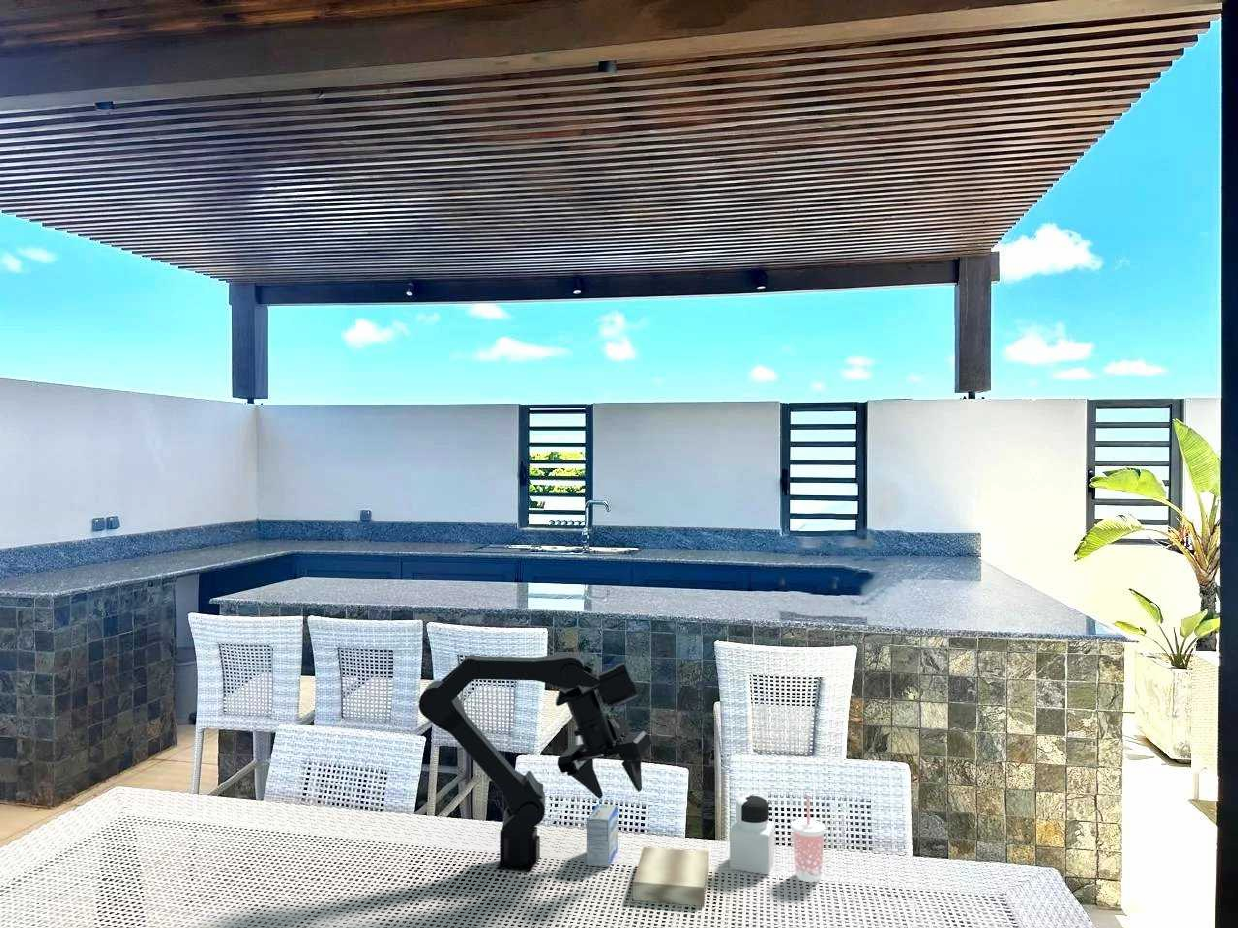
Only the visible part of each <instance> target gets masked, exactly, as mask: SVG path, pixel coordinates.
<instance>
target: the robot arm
mask: <svg viewBox="0 0 1238 928" xmlns="http://www.w3.org/2000/svg"><path fill="white" fill-rule="evenodd" d="M474 680H493V681H494V680H495V681H497V680H498V681H499V680H500V681H501V680H503V681H535V682H536V681H537V682H540V683H544V684H547V685H549V686H554V687H559V690H558V695H557V696H556V698H555V705H556V707H559V706H560V707H561V706H562V705H564V704H567V707H568V710H569V712H570V714H571V717H572V719H573V722H574V724H575V727H576V729H575V730H573V733H574V736H575V737H580V739H581V742H582V744H581V743H579V744H576V745H573V746H569V747H568V748H567V749H566V750H565V751H564V752H562V753H561V754H560V755H559V757H558V758H557V767H558V769H559V771H560V773H561V774H565V773H566V775H567V777H572V778H573V779H575V780H576V781H577V782H579V783H580V785H581V784H582V785H583V786H584V787H585V789H587V790H588V791H589V792H590V793H591V794H593V795H594V796H595V797H596V798H597V799H598V800H599V799H602V798H603V796H604V794H603V790H602V788H601V787H602V786H601V785H600V782H599V780H598V778H597V777H598V776H596V772H595V770H594V767H593V766H594V763H593V762H594V759H595V760H596V759H599V758H600V759H601V758H605V757H609V756H614V755H618V756H619V758H620V759H622V760H623V761H622V762H621V765H622V768H623V769H624V771H625V773H626V774H627V776H628V778H629V780H630V781H631V783H632V785H633V787H634V788H635V789H636V791H637V792H638V793H639V792H641V791H642V790H643V780H642V779H643V778H642V777H643V776H642V775H643V774H642V758H643V755H644V754H645V753H646V751H647V750H648V748H649V747H650V746H651V745H652V744H653V742H652V739H651V738H650V735H649V733H648V732H646V731H644V730H641V731H637V732H636V731H635V732H632V733H630V728H629V724H628V719H627V716H625V717H624V716H623V717H618V718H612V716H611V715H610V714H609V712H607V713H604V710H603V708H602V706H601V703H600V700H599V698H598V696H597V694H596V690H597V691H598V694H599V696H600V699H601V702H602V703H603V705H604V706H605V705H607V707H608V706H610V707H611V708H614V707H616V706H619V705H621V704H623V703H625V702H628V701H630V700H632V699H635V698H637V697H638V696H639V694H638V691H637V689H636V686H635V683H634V682H633V679H632V676H631V675H629V672H628V669H627V667H626V665H625V663H624V662H619V663H618V664H616V665H614V667H611V668H609V669H607V670H604V671H601V672H600V673H599V672H598V671H597V670H596V669H593V668H592V667H591V666H589V665H586V664H585V662H584V661H583V657H581V656H580V655H579V654H578V653H576V652H573V651H565V652H560V653H552V654H547V655H545V656H540V657H539V656H538V657H518V656H517V657H513V656H512V657H511V656H509V657H508V656H478V655H473V654H471V655H467V656H465V657H464V658H463V660H462V661H461V662H460V663H459V664H458V665H457V666H456V667H455V668H453V670H451V671H450V672H449V673H448V674H446V676H445V677H443V678H442V679H441V680H435V681H432V682H431V683H428V685H427V686H426V688H424V691H423V692H422V693H421V695H420V697H419V700H418V709H419V712H420V713H421V715H422V716H424V717H425V718H426V719H427V720H428V721H429V722H431V723H432V724H433V725H435V727H438V728H440V729H441V730H443V731H445V732H447V733H449V734H450V735H451V736H452V737H453V738H454V740H456V742H457V743H458V744H459V745H460V746H461V747H462V749H463V750H464V751H465V752H466V753H467V754H468V755H469V756H470V757H471V758H472V760H473V761H474V762H475V764H477V765H478V767H480V769H481V770H482V771H483V772H484V774H485V775H487V777H488V778H489V779H490V780H491V782H492V783H493V784H494V785H495V787H497V788H498V789H499V792H500V793H501V795H502V798H503V800H504V801H505V803H506V806H507V807H506V809H505V810H504V813H503V819H502V826H501V830H500V835H499V837H500V839H499V842H500V847H499V850H500V851H499V862H498V864H497V865H496V869H498V870H509V871H518V872H521V871H523V872H531V871H532V870H533V869H534V867H535V865H536V864H537V863H538V861H539V860H540V858H541V855H540V853H541V851H540V850H541V847H540V846H541V836H539V835H538V827H537V826H538V824H540V823H541V822H542V820H543V819H544V816H545V814H546V794H545V791H544V784H543V783H541V782H539V781H538V780H537V779H536V778H535V775H534V774H533V772H532V771H531V770H528V771H527V772H526V773H525V774H523V773H520V772H518V771H517V770H516V769H515V768H514V767H513V766H512V765H511V764H510V762H509V761H508V760H507V759H506V758H505V757H504V756H503V755H502V753H501V752H500V751H499V750H498V749H497V748H496V746H494V744H493V743H492V742H491V741H490V740H489V739H488V738H487V736H486V735H485V734H484V733H483V732H482V731H481V729H480V728H478V726H477V725H476V724H475V723H474V722H473V720H472V719H471V718H470V717H469V716H468V714H467V712H466V710H465V708H464V706H463V702H462V700H461V699H460V697H459V695H460V694H461V692H462V691H464V689H466V687H468V686H469V684H470V683H471V682H473V681H474ZM562 688H563V689H562ZM565 689H566V690H565ZM567 689H568V690H567ZM623 734H624V735H626V736H625V737H624V738H623V739H622V740H621V742H616V741H618V740H620V739H621V737H622V736H621V735H623Z"/></svg>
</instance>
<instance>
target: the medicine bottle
mask: <svg viewBox="0 0 1238 928" xmlns="http://www.w3.org/2000/svg"><path fill="white" fill-rule="evenodd" d="M769 807H770V806H769V802H768V801H767V800H766V799H765V798H763V797H761V796H758V795H754V794H753V795H749V794H747V795H743V796H740V797H738V798H737V799H736V800H735V820H734V822H733V824H732V826H731V828H730V831H729V868H730V870H732V869H735V870H734V871H738V870H740V871H739V872H744V871H747V872H746V873H751V872H753V874H757V873H760V874H759V875H764V874H768V875H770V873H771V869H772V865H773V864H772V863H774V861H775V822H774V821H773V820H772V821H771V820H769V819H770V818H769V817H770V815H769V811H770V810H769V809H770V808H769Z"/></svg>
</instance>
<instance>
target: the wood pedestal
mask: <svg viewBox="0 0 1238 928" xmlns="http://www.w3.org/2000/svg"><path fill="white" fill-rule="evenodd" d="M708 876H709V851H704V850H694V849H693V850H690V849H689V850H688V849H678V848H663V847H650V846H643V849H642V852H641V855H640V859H639V862H638V864H637V869H636V871H635V874H634V878H633V881H632V900H633V901H640V902H642V901H643V902H652V903H665V904H675V905H688V906H700V907H705V903H706V896H705V895H706V893H707V886H708Z"/></svg>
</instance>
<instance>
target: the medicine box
mask: <svg viewBox="0 0 1238 928" xmlns="http://www.w3.org/2000/svg"><path fill="white" fill-rule="evenodd" d="M618 850H619V806H618V805H617V804H606V803H597V804H596V805H595V807H594V808H593V810H592V812H591V813H590V815H589V816H588V817H587V819H586V865H587V866H589V867H590V866H591V867H599V868H603V867H604V868H610V867H611V864H612V862H613V861H614V859H615V856H616V854H617V852H618Z"/></svg>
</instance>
